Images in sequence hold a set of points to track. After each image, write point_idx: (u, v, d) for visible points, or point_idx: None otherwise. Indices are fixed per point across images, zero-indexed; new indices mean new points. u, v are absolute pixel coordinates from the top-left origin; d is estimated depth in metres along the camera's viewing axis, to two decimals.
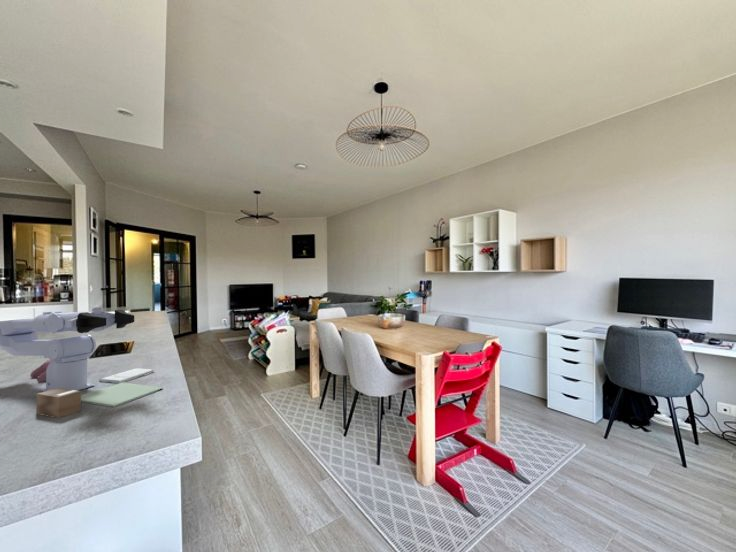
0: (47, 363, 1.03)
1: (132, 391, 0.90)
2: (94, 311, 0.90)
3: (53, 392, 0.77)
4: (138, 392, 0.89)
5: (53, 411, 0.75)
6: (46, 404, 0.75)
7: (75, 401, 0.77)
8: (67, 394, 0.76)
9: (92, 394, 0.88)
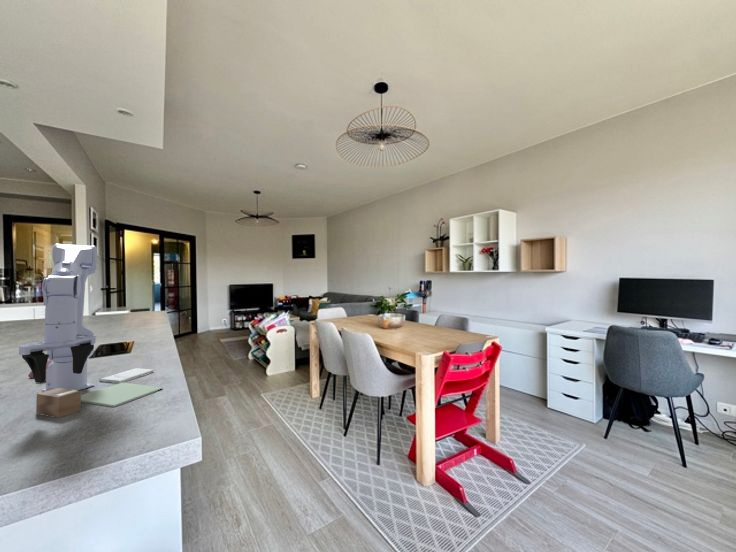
0: None
1: (132, 391, 0.90)
2: (64, 345, 0.76)
3: (53, 392, 0.77)
4: (138, 392, 0.89)
5: (53, 411, 0.75)
6: (46, 404, 0.75)
7: (75, 401, 0.77)
8: (67, 394, 0.76)
9: (92, 394, 0.88)
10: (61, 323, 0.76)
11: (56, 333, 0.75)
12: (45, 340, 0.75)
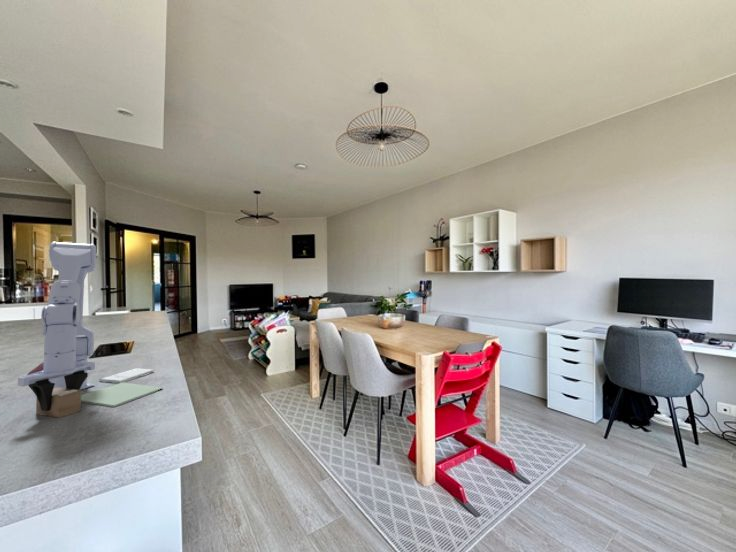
0: None
1: (132, 391, 0.90)
2: (63, 374, 0.76)
3: (53, 391, 0.77)
4: (138, 392, 0.89)
5: (53, 410, 0.75)
6: None
7: (75, 400, 0.77)
8: (67, 393, 0.76)
9: (92, 394, 0.88)
10: (60, 352, 0.76)
11: (55, 362, 0.75)
12: (44, 369, 0.75)
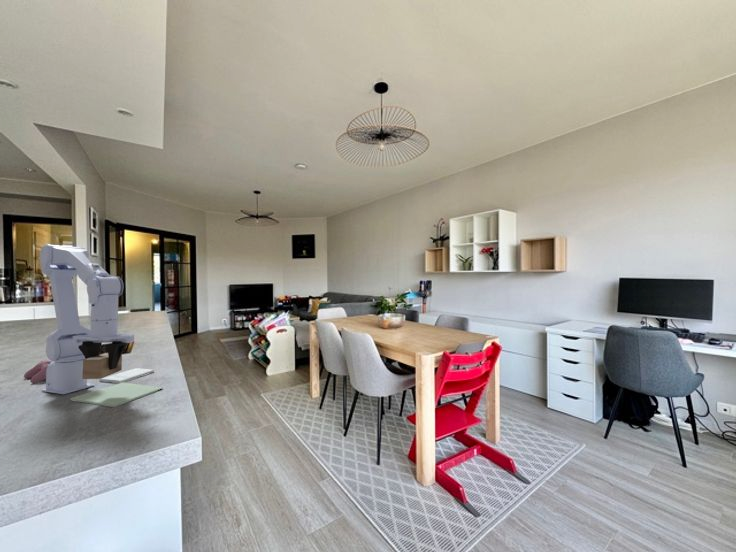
0: (41, 364, 1.02)
1: (132, 391, 0.90)
2: None
3: (104, 355, 0.87)
4: (138, 392, 0.89)
5: None
6: None
7: (96, 368, 0.82)
8: (91, 359, 0.82)
9: (92, 394, 0.88)
10: (111, 319, 0.85)
11: None
12: None
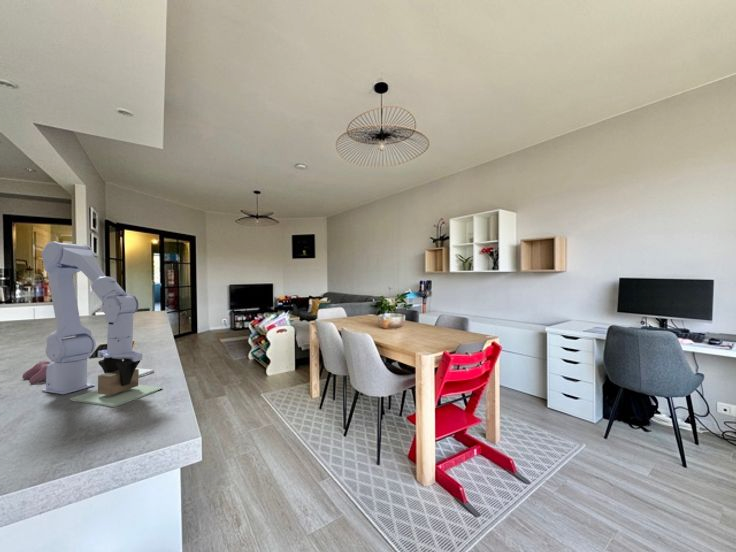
0: (39, 364, 1.01)
1: (132, 391, 0.90)
2: None
3: None
4: (138, 392, 0.89)
5: None
6: None
7: (106, 384, 0.85)
8: (104, 375, 0.86)
9: (92, 394, 0.88)
10: (129, 336, 0.89)
11: None
12: None
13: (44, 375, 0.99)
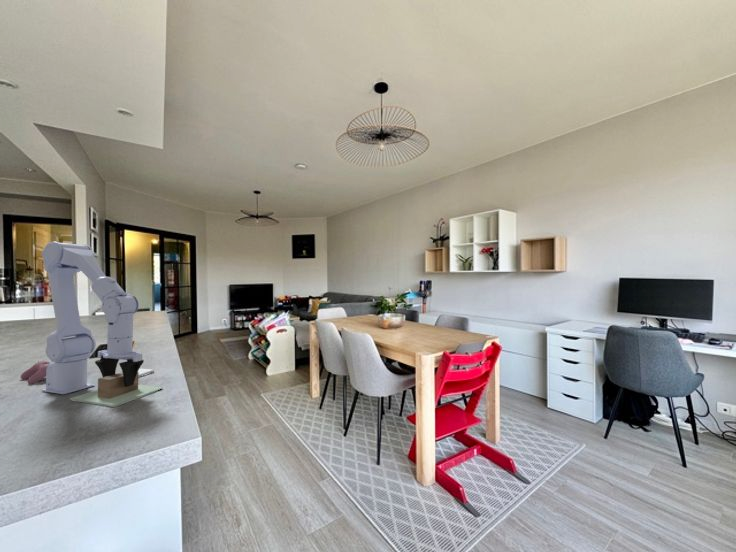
0: (38, 364, 1.01)
1: (132, 391, 0.90)
2: None
3: (122, 374, 0.91)
4: (138, 392, 0.89)
5: None
6: None
7: (106, 388, 0.85)
8: (103, 379, 0.86)
9: (92, 394, 0.88)
10: (129, 336, 0.89)
11: None
12: None
13: (42, 375, 0.99)
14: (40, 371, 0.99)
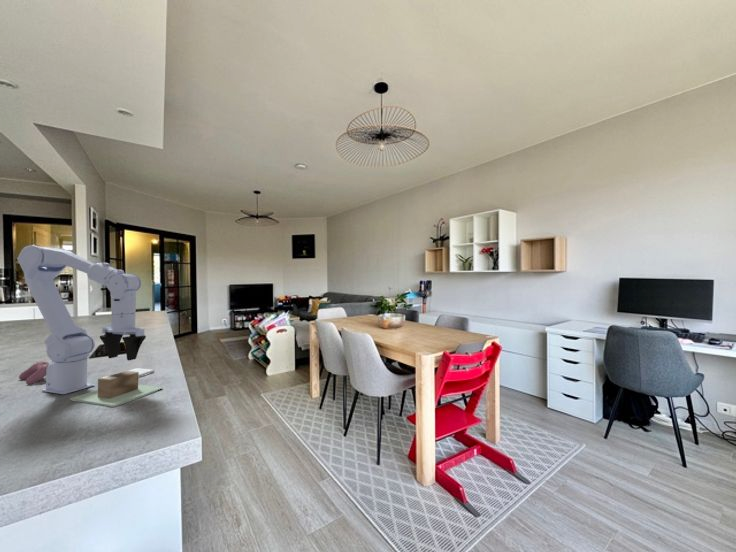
0: (36, 365, 1.01)
1: (132, 391, 0.90)
2: None
3: (122, 374, 0.91)
4: (138, 392, 0.89)
5: None
6: None
7: (106, 388, 0.85)
8: (103, 379, 0.86)
9: (92, 394, 0.88)
10: (134, 312, 0.94)
11: None
12: None
13: (41, 376, 0.99)
14: (39, 371, 0.99)
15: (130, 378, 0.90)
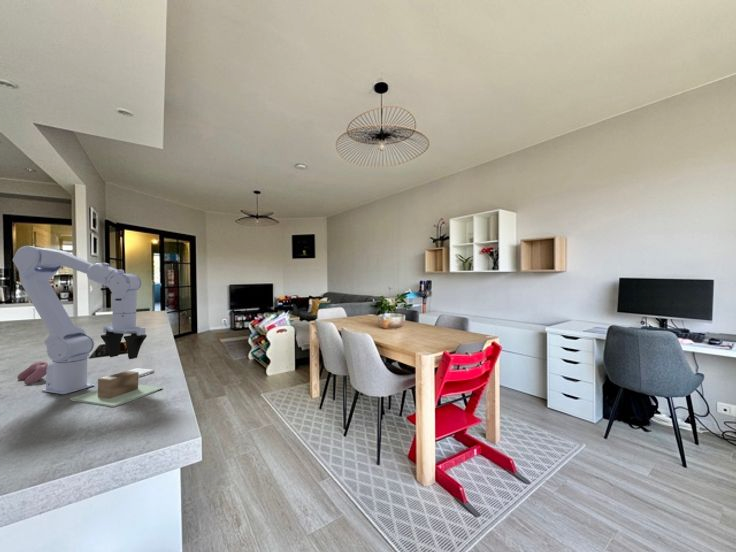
0: (35, 365, 1.00)
1: (132, 391, 0.90)
2: None
3: (122, 374, 0.91)
4: (138, 392, 0.89)
5: None
6: None
7: (106, 388, 0.85)
8: (103, 379, 0.86)
9: (92, 394, 0.88)
10: (135, 312, 0.95)
11: None
12: None
13: (39, 376, 0.98)
14: (37, 372, 0.98)
15: (130, 378, 0.90)
